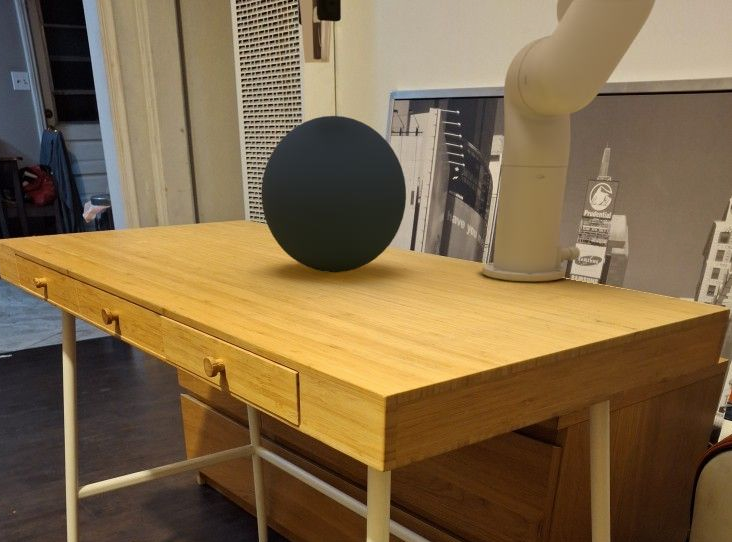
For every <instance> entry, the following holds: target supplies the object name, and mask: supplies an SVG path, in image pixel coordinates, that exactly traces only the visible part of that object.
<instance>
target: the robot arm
mask: <svg viewBox="0 0 732 542" xmlns="http://www.w3.org/2000/svg"><path fill="white" fill-rule="evenodd" d="M341 1H342V0H317V18H318V20H320V21H331V22H340V21H341V19H342V7H341V6H342V3H341ZM655 2H656V0H557V3H556V18H557V21H558V24H557V26H556V28H555V29H554V31H553V32H552V34H550V35H547V36H544V37H541V38H538V39H535V40H533V41H531V42H529V43H527V44H526V45H524V46H523V47H522V48H521V49H519V51H518V52H517V53H516V55H514V57H513V58H512V60H511V61H510V63H509V66H508V68H507V70H506V71H507V72H506V74H505V78H504V87H503V113H504V127H503V129H504V131H503V149H502V161H501V168H500V180H499V189H498V191H499V192H498V202H497V213H496V214H497V215H496V225H495V237H494V249H493V260H492V262H489V263H485V264H484V265H482V271H481V273H482V274H483V275H485V276H486V277H489V278H493V279H498V280H504V281H505V280H506V281H515V282H550V281H556V280H560V279H563V278H564V277H565V274H566V268H564V267H563V266H561V264H562V263H564V262H565V261H576V260H578V259H579V258H580V256H581V250H580V249H579V247H577V246H571V247H565V248H564V245H563V244H561V243H559V238H560V231H561V223H562V214H563V207H564V199H565V191H566V183H567V174H568V168H569V160H570V153H571V137H572V136H571V134H572V133H571V132H572V131H571V130H572V129H571V114H574V113H576V112H578V111H580V110H582V109H584V108H585V107H587V106H588V105H589V104H590V103H591V102H592V101H593V100H594V99H595V98H596V97H597V96H598V95H599V93H600V92H601V90H602V89H603V88H604V86H605V85H606V83H607V82H608V81H609V79H610V77H611V76H612V74H613V73H614V72H615V70H616V69H617V67H618V66H619V64H620V62H621V61H622V59H623V58H624V56H625V55H626V53H627V51H628V50H629V49H630V47H631V45H633V42H634V41H635V40H636V38H637V36H638V35H639V33H640V32H641V30H642V29H643V27H644V25H645V24H646V22H647V21H648V19H649V17H650V15H651V13H652V11H653V8H654V5H655ZM297 15H298V19H297V20H298V24H299V25H300V26H302V23H301V12H300V3H299V0H297Z"/></svg>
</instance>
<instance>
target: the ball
mask: <svg viewBox="0 0 732 542" xmlns="http://www.w3.org/2000/svg"><path fill="white" fill-rule="evenodd" d="M263 171H264V172H263V175H262V180H261V181H262V182H261V195H260V196H261V205H262V211H263V216H264V219H265V222H266V224H267V228H268V229H269V231H270V233H271V236H272V237H273V238H274V240H275V241H276V243H277V244H278V246H279V247H280V249H282V251H284V253H286V254H287V255H288V256H289V257H290V258H291V259H293V260H294V261H296V262H297V263H299V264H300V265H302V266H304V267H306V268H309V269H312V270H315V271H319V272H321V273H332V274H333V273H334V274H335V273H347V272H350V271H354V270H358V269H360V268H362V267H364V266H366V265H368V264H370V263H371V262H372V261H374V260H376V259H377V258H378V257H379V256H380V255H382V254H383V253H384V252H385V250H387V249H388V248H389V246H391V243H392V242H393V240H394V239H395V237H396V235H397V233H398V232H399V230H400V227H401V225H402V222H403V219H404V215H405V211H406V210H405V209H406V203H407V202H406V201H407V185H406V178H405V175H404V171H403V167H402V165H401V163H400V160H399V158H398V156H397V154H396V152H395V151H394V149H393V148H392V146H391V145H390V144H389V142H388V141H387V140H386V139H385V138H384V137H383V136H382V135H381V134H380V133H379V132H378V131H376V130H375V129H374V128H372V127H371V126H370V125H368V124H366V123H365V122H362V121H360V120H357V119H355V118H352V117H348V116H342V115H324V116H319V117H315V118H311V119H309V120H306V121H304V122H302V123H301V124H298V125H297V126H295V127H294V128H293V129H291V130H289V131H288V133H286V135H284V137H282V138H281V139H280V141H279V142H278V143H277V145H276V146H275V147H274V149H273V151H272V152H271V154H270V156H269V159H267V162H266V164H265V168H264V170H263Z"/></svg>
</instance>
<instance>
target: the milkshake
mask: <svg viewBox="0 0 732 542" xmlns="http://www.w3.org/2000/svg"><path fill="white" fill-rule="evenodd" d="M299 3H300V12H301V23H302V25H301V34H302V47H303V58H304V63H305V64H330V53H331V35H332V21H320V20H318V18H317V0H299Z"/></svg>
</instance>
